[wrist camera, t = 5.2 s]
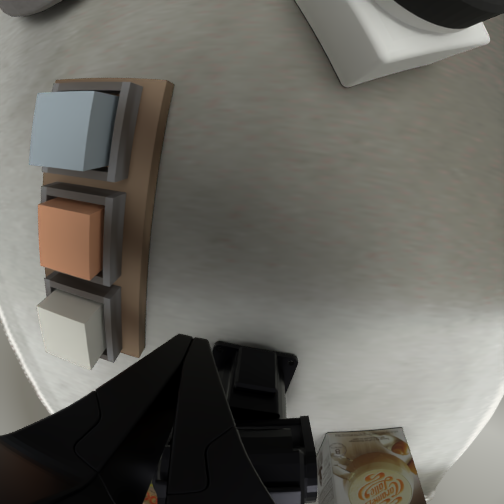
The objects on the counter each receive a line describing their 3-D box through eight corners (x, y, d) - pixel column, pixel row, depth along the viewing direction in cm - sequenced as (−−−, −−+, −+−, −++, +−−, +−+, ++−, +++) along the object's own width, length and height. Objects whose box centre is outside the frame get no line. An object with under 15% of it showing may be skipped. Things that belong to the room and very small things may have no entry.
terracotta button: (111, 261, 19) (89, 280, 16) (64, 249, 19) (40, 265, 16) (114, 203, 18) (89, 214, 15) (65, 194, 17) (38, 204, 15)
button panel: (144, 346, 23) (131, 372, 20) (61, 319, 23) (42, 339, 20) (174, 84, 16) (156, 74, 13) (67, 82, 16) (39, 77, 13)
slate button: (110, 165, 16) (83, 171, 13) (59, 159, 16) (28, 164, 13) (121, 97, 14) (94, 91, 12) (67, 96, 14) (37, 92, 11)
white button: (107, 345, 20) (91, 370, 17) (65, 330, 20) (46, 351, 17) (105, 300, 19) (84, 324, 16) (59, 286, 19) (36, 305, 16)
